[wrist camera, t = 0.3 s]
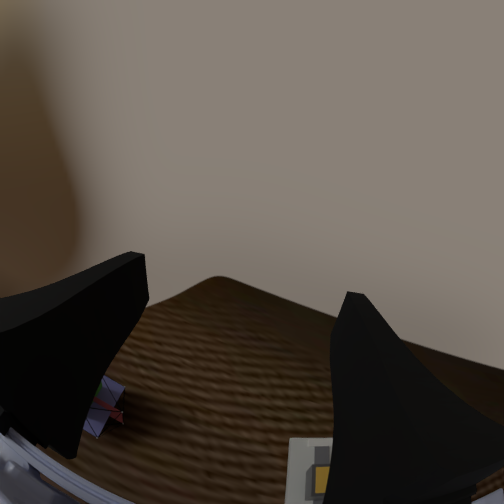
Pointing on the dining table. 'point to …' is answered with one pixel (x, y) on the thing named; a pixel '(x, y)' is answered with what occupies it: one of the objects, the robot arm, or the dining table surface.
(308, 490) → the block
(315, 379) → the dining table surface
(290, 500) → the panel
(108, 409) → the geometric puzzle
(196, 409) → the dining table surface
